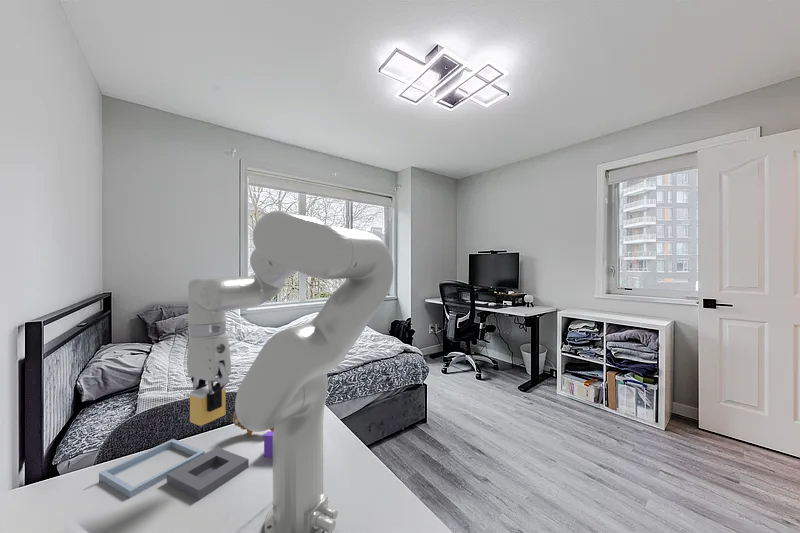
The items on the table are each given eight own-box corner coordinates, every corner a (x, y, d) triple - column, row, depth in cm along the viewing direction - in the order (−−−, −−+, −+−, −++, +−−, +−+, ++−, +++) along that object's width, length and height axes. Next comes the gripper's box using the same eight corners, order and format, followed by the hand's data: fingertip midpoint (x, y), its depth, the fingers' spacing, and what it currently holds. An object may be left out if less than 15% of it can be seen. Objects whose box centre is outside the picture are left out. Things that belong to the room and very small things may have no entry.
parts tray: (204, 460, 82) (204, 451, 82) (130, 502, 68) (130, 491, 68) (173, 447, 88) (173, 438, 88) (99, 482, 74) (98, 472, 74)
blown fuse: (225, 414, 77) (225, 386, 77) (200, 426, 72) (200, 395, 72) (214, 411, 79) (214, 383, 79) (189, 422, 73) (189, 391, 73)
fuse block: (248, 471, 78) (248, 459, 78) (199, 504, 67) (199, 490, 67) (217, 458, 83) (217, 447, 83) (166, 487, 72) (166, 474, 72)
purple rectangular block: (289, 463, 81) (289, 437, 81) (264, 461, 82) (264, 435, 82) (307, 438, 93) (307, 415, 93) (285, 436, 94) (285, 413, 94)
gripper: (245, 330, 75) (246, 407, 75) (201, 324, 82) (202, 395, 82) (214, 336, 68) (215, 421, 68) (169, 329, 75) (170, 406, 75)
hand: (208, 406), depth 75 cm, fingers closed on blown fuse, 4 cm apart
